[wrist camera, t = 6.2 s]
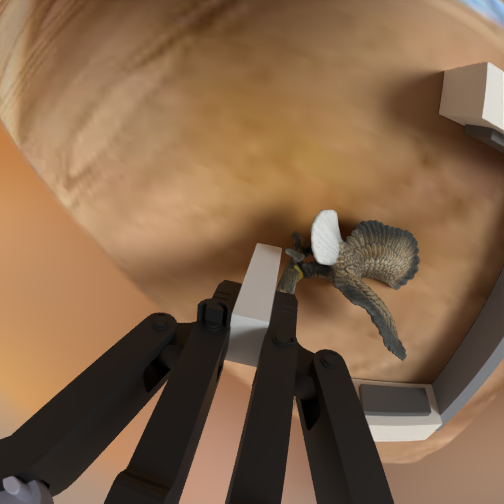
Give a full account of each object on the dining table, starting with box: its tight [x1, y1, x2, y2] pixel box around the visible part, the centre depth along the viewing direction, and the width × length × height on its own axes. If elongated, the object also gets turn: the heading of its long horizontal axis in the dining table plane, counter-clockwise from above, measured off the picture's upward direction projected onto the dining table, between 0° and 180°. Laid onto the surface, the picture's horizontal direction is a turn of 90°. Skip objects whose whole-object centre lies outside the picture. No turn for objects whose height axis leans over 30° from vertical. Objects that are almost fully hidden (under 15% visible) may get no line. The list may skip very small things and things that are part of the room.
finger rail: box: [352, 62, 504, 441], centre depth 15 cm, size 28×12×5 cm, turn 172°
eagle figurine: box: [276, 210, 420, 361], centre depth 15 cm, size 8×7×9 cm
